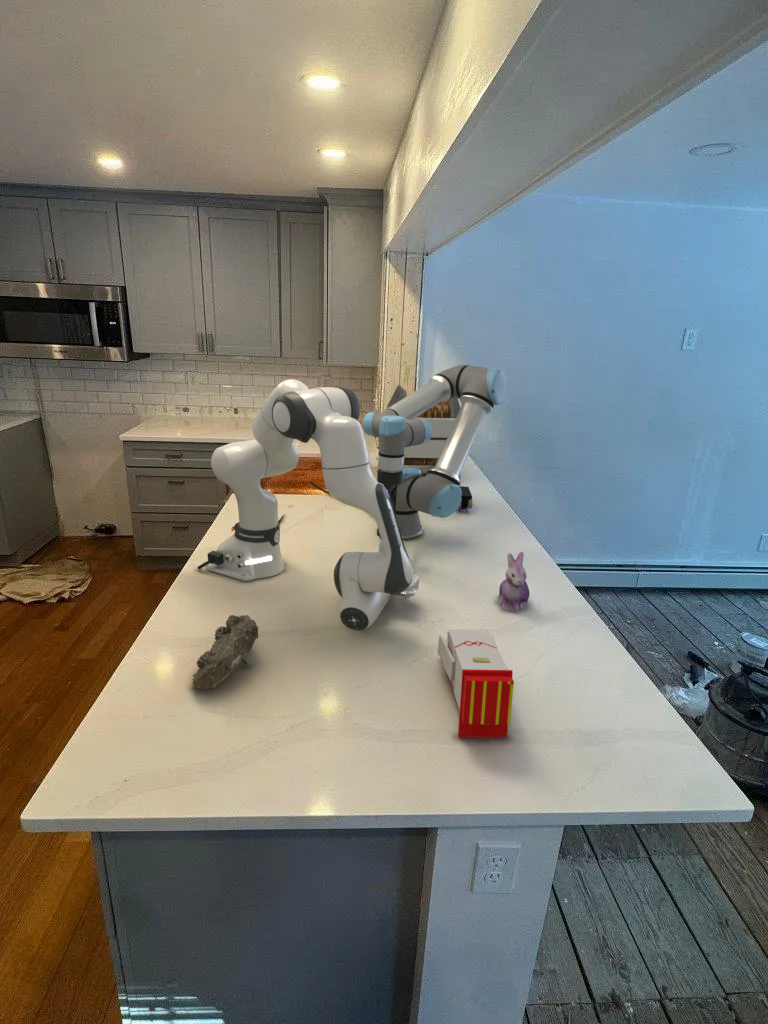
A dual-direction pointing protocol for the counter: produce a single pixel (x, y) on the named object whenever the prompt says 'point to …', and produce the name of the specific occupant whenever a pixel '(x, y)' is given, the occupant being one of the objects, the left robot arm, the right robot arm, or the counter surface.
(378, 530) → the lid
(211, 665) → the fossil
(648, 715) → the counter surface
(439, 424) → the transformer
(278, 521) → the feather
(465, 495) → the figurine character
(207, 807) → the counter surface
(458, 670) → the toy
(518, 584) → the figurine
